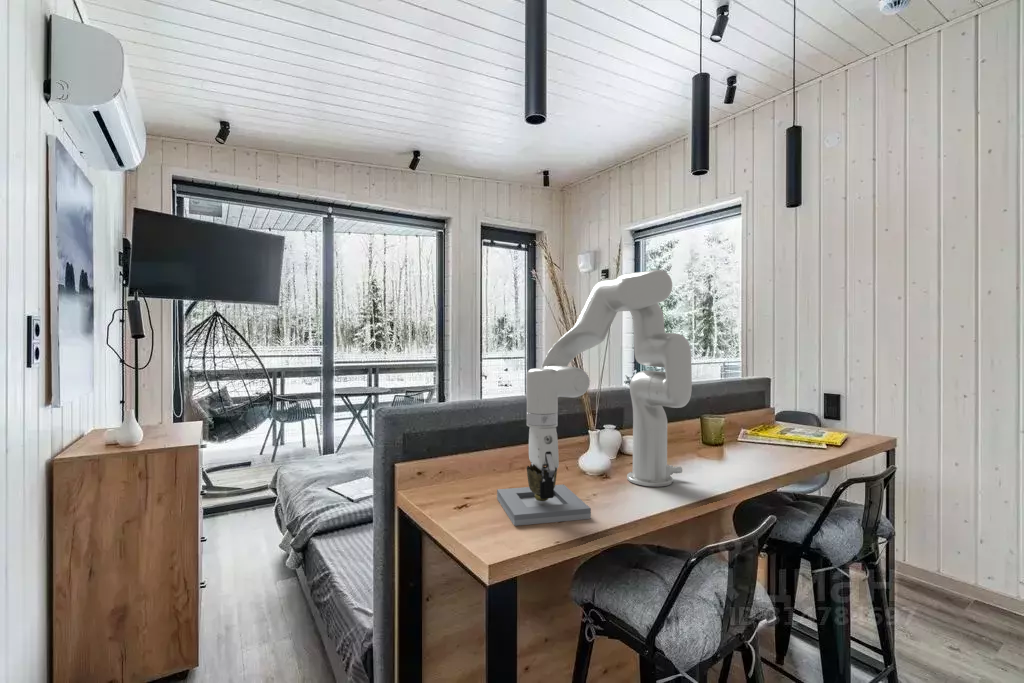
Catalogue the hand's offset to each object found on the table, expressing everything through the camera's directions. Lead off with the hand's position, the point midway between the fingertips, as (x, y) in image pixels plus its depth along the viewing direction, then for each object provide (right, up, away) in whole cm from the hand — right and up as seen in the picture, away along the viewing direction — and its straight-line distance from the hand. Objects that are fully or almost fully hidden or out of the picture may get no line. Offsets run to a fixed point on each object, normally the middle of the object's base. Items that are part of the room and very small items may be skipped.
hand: (541, 492), depth 118 cm
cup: (0, -2, 0) cm, 2 cm away
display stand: (0, -4, 0) cm, 4 cm away
